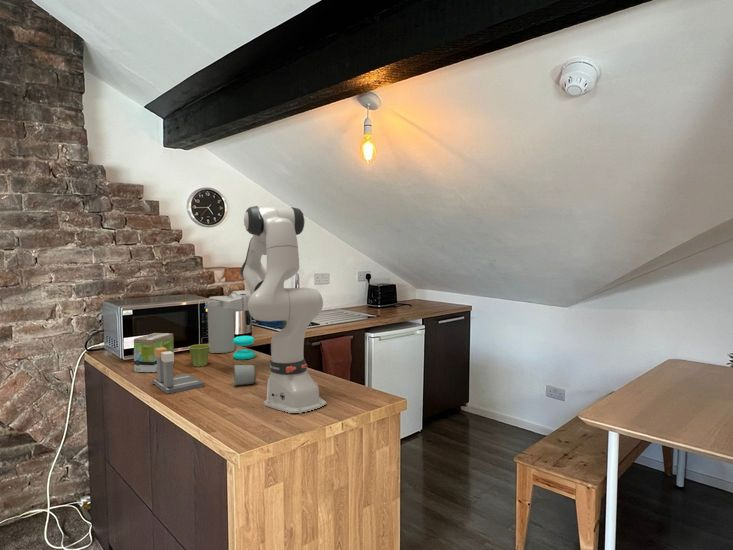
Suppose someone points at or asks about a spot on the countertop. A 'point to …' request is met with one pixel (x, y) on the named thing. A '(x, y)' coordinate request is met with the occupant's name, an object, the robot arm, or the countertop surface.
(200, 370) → the countertop surface
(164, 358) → the white fader
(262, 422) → the countertop surface
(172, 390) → the plate
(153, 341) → the tea box
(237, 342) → the donuts
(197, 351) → the plant pot
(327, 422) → the countertop surface
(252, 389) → the countertop surface
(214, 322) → the cylinder vase
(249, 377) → the ceramic mug
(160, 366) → the orange fader
